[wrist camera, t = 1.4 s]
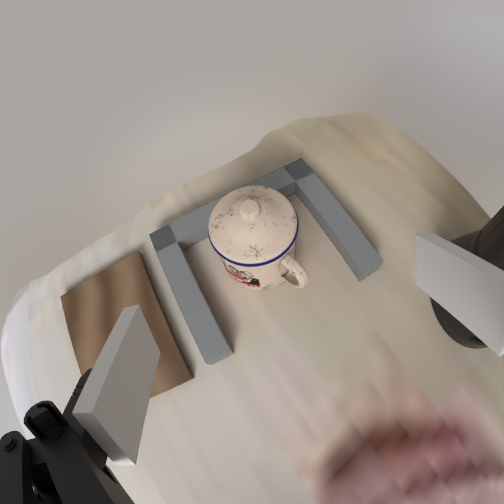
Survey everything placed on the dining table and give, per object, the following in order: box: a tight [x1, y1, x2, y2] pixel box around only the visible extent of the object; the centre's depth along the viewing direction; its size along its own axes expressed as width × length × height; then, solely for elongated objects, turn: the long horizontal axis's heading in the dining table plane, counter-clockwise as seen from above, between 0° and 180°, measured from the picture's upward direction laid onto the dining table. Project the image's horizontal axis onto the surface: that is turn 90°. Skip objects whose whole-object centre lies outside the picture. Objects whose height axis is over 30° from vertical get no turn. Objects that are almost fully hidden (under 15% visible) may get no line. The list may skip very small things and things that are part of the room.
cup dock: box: [150, 158, 383, 365], centre depth 38 cm, size 23×18×2 cm
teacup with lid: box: [208, 186, 309, 290], centre depth 33 cm, size 12×9×12 cm
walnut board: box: [61, 251, 194, 398], centre depth 36 cm, size 14×18×1 cm
